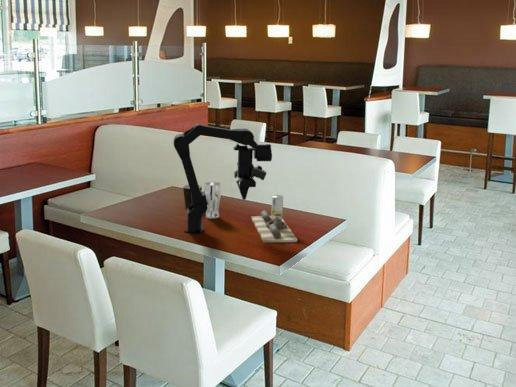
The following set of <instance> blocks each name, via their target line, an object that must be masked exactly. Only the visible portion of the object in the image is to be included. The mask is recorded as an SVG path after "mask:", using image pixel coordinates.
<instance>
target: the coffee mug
mask: <svg viewBox="0 0 516 387" xmlns="http://www.w3.org/2000/svg"><path fill="white" fill-rule="evenodd" d="M198 185H199V188H200V190H201V192H203V191H202V189H203V185H201V184H198ZM182 189H183V198H184V199H183V200H184V206H185V207H184V208H185V209H186V210H187V208H188V207H189V206H190V205H191V204H192V197H191V191H190V187H189V184H184V185H183V186H182Z"/></svg>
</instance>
